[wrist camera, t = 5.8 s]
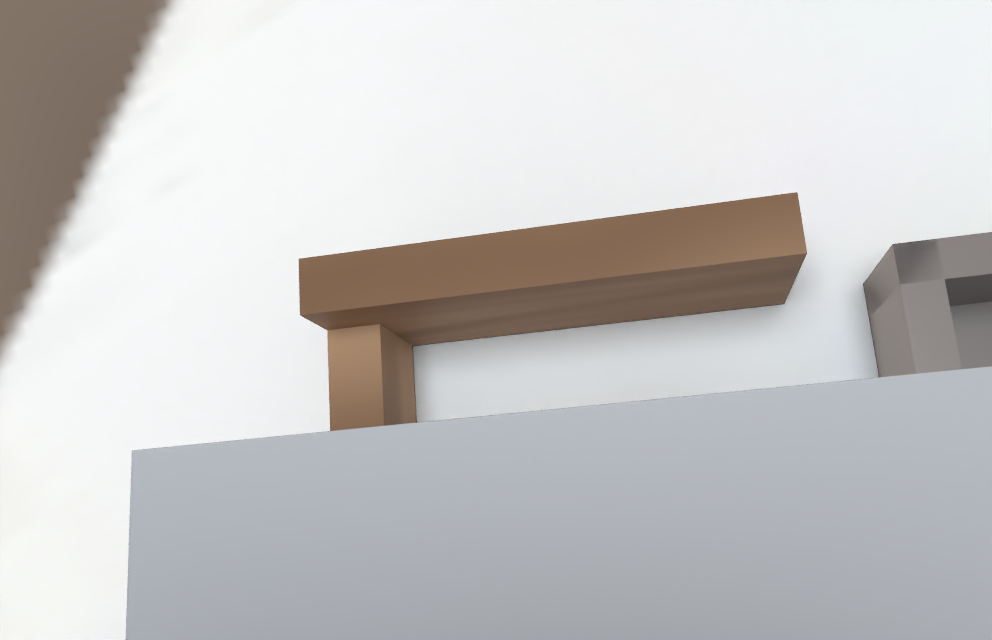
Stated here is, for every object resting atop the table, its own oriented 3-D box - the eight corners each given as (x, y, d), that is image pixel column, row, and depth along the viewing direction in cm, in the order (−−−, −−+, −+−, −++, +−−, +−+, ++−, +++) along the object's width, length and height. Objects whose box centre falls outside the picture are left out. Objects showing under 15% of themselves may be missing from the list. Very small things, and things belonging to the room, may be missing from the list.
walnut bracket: (838, 665, 19) (877, 701, 15) (378, 686, 21) (308, 723, 17) (776, 253, 21) (797, 192, 17) (363, 303, 23) (298, 258, 19)
